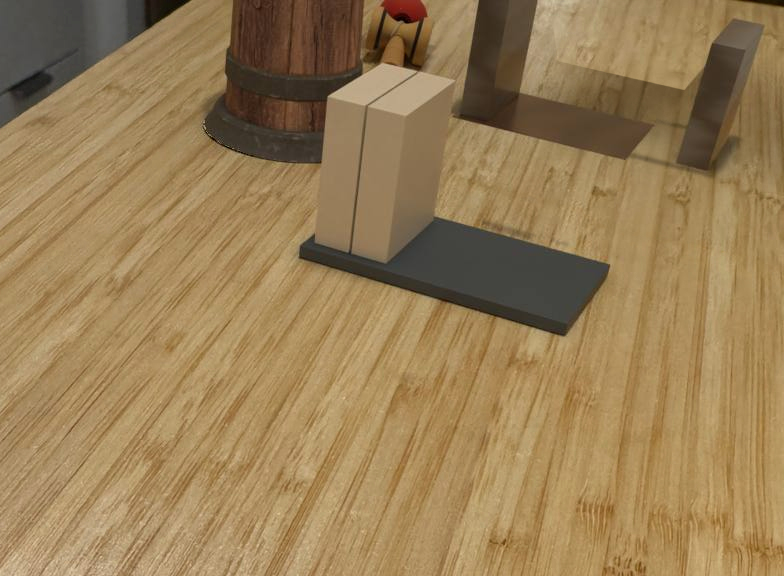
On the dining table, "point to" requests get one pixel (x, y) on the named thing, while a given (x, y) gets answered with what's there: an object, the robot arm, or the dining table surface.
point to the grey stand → (584, 126)
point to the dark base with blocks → (426, 210)
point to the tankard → (285, 75)
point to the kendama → (400, 31)
